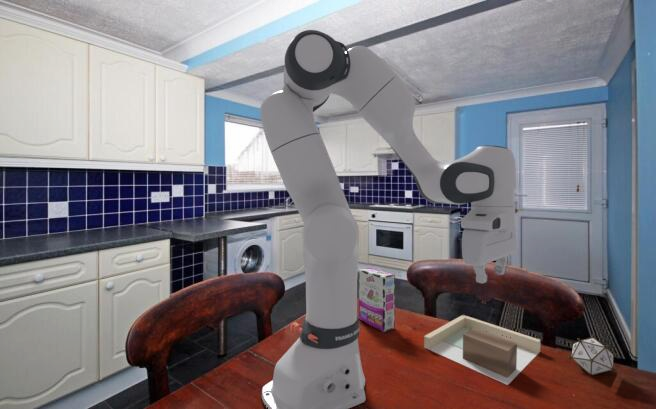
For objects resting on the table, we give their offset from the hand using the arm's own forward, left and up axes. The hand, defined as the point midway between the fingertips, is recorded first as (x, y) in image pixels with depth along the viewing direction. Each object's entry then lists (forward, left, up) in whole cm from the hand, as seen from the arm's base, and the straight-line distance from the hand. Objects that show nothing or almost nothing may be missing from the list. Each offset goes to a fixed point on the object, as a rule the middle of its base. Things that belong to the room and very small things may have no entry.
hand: (490, 278), depth 72 cm
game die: (+15, -16, -21) cm, 31 cm away
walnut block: (0, 0, -20) cm, 20 cm away
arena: (+5, +4, -21) cm, 22 cm away
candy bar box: (-3, +32, -21) cm, 39 cm away
